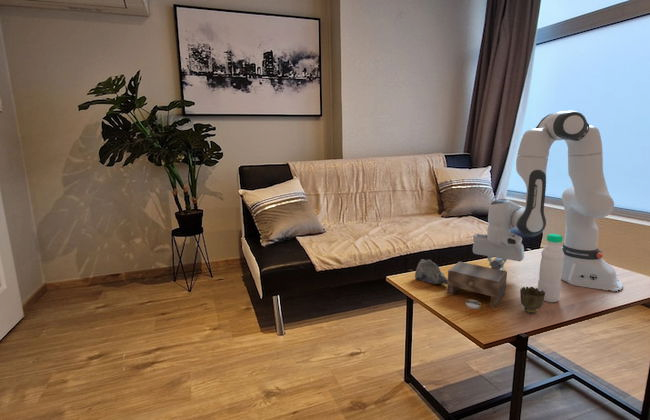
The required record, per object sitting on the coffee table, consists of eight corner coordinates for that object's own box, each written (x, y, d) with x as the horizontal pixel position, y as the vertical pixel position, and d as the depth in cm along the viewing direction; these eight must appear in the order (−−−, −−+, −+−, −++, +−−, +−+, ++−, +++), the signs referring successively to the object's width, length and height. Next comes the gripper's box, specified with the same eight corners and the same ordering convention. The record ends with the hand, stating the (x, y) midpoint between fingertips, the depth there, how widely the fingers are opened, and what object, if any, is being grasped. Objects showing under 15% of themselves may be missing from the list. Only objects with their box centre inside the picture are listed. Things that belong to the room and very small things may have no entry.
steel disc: (483, 306, 125) (483, 303, 125) (475, 311, 123) (475, 307, 122) (470, 302, 129) (470, 298, 129) (462, 306, 126) (463, 302, 126)
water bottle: (533, 298, 131) (540, 234, 125) (541, 292, 135) (548, 231, 129) (554, 305, 125) (562, 238, 120) (561, 299, 129) (570, 235, 124)
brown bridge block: (504, 295, 133) (507, 271, 131) (495, 308, 123) (497, 282, 121) (458, 284, 144) (459, 261, 142) (446, 294, 135) (447, 270, 133)
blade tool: (494, 267, 157) (494, 257, 156) (503, 269, 155) (504, 258, 154) (479, 283, 141) (480, 271, 140) (489, 285, 138) (490, 273, 137)
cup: (513, 309, 123) (515, 288, 121) (528, 305, 125) (530, 284, 124) (531, 319, 116) (534, 297, 114) (547, 314, 118) (550, 293, 117)
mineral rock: (449, 288, 141) (451, 264, 139) (425, 290, 139) (426, 266, 137) (435, 275, 154) (436, 254, 151) (412, 277, 152) (413, 256, 150)
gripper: (471, 234, 153) (469, 264, 156) (523, 241, 140) (520, 273, 143) (475, 231, 158) (474, 260, 161) (526, 238, 145) (523, 269, 148)
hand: (496, 266), depth 152 cm, fingers closed on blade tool, 2 cm apart
